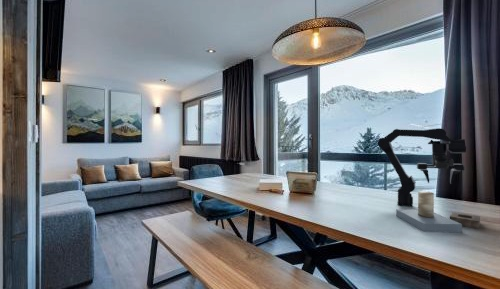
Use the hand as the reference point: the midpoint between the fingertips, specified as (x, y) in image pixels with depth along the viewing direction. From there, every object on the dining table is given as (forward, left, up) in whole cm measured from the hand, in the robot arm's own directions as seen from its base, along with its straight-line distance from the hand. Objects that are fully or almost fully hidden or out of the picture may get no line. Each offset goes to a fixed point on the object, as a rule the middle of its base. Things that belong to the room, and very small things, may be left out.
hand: (439, 183), depth 125 cm
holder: (+4, -23, -13) cm, 26 cm away
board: (-10, -29, -13) cm, 33 cm away
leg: (-10, -29, -13) cm, 33 cm away
